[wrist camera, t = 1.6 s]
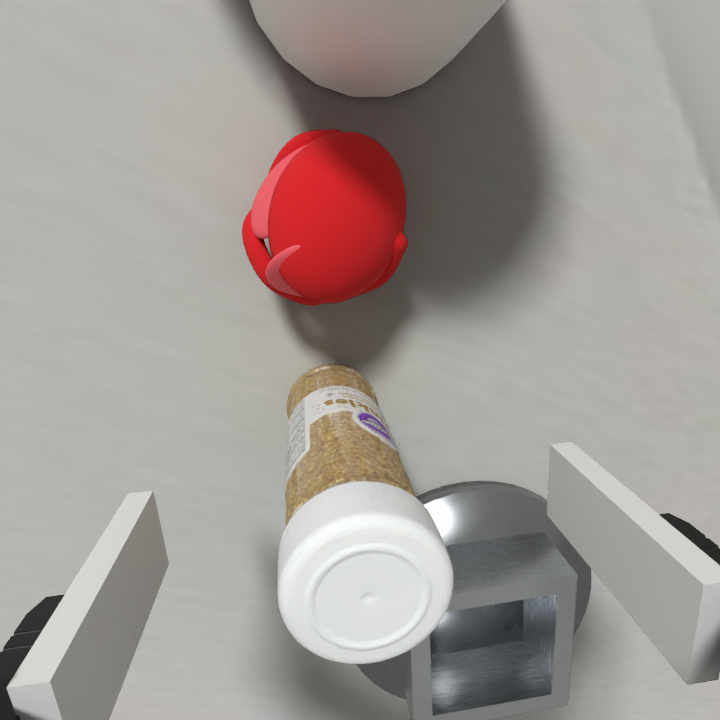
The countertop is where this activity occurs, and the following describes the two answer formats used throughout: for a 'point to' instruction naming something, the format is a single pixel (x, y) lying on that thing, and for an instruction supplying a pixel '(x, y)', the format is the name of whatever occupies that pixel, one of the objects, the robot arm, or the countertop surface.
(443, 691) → the square hole disc
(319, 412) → the sprinkles bottle
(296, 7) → the mug
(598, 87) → the countertop surface
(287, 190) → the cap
